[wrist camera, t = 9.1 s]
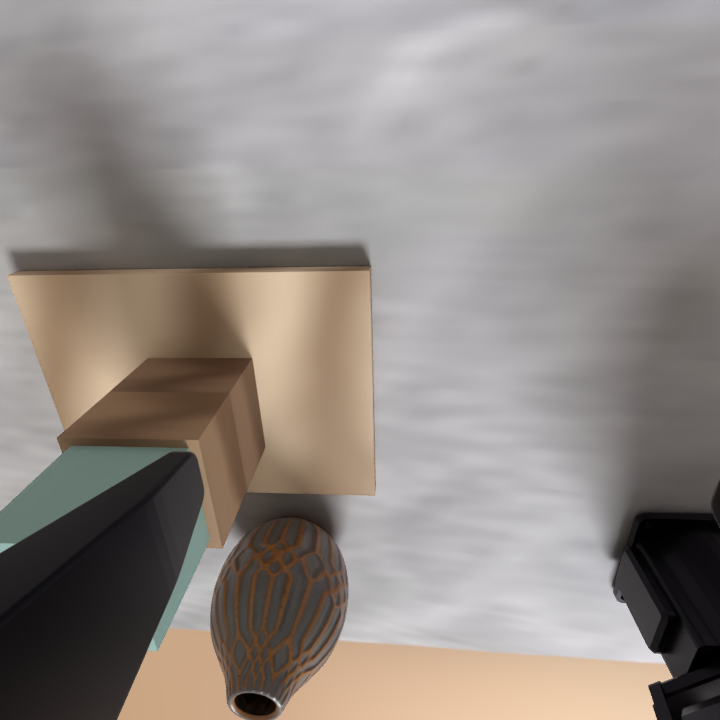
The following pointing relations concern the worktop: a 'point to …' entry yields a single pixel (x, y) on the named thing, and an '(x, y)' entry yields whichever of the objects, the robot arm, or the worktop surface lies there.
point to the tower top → (175, 441)
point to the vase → (277, 613)
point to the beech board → (225, 353)
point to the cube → (83, 482)
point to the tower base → (209, 378)
